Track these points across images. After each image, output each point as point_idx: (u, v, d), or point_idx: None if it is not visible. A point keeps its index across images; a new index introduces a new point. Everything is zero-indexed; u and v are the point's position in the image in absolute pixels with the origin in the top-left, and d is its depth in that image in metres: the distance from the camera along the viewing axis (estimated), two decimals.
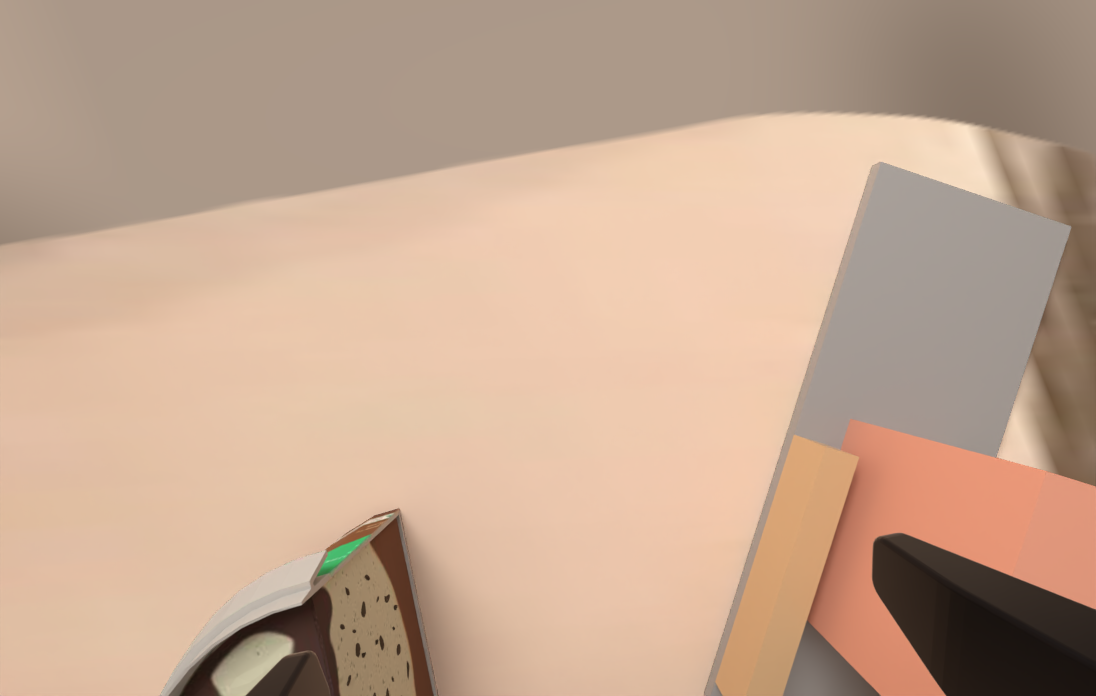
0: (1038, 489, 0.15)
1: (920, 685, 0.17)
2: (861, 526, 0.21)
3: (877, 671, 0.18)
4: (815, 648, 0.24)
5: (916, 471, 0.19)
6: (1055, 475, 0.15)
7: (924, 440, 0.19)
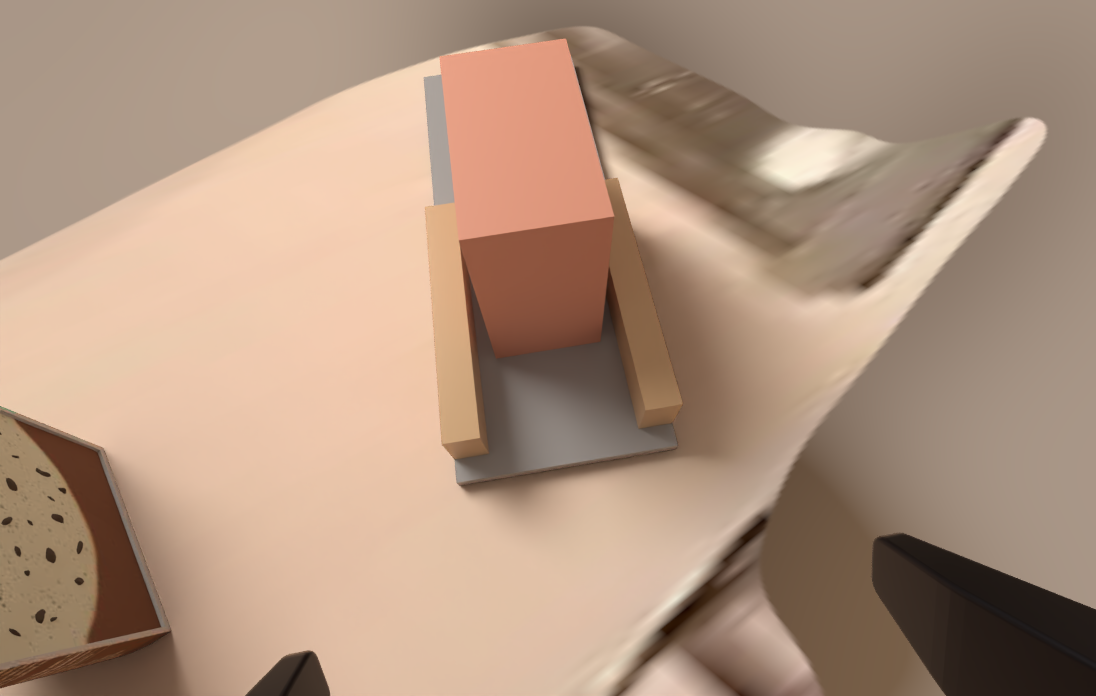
0: None
1: None
2: None
3: None
4: (538, 385, 0.24)
5: None
6: (448, 56, 0.20)
7: None
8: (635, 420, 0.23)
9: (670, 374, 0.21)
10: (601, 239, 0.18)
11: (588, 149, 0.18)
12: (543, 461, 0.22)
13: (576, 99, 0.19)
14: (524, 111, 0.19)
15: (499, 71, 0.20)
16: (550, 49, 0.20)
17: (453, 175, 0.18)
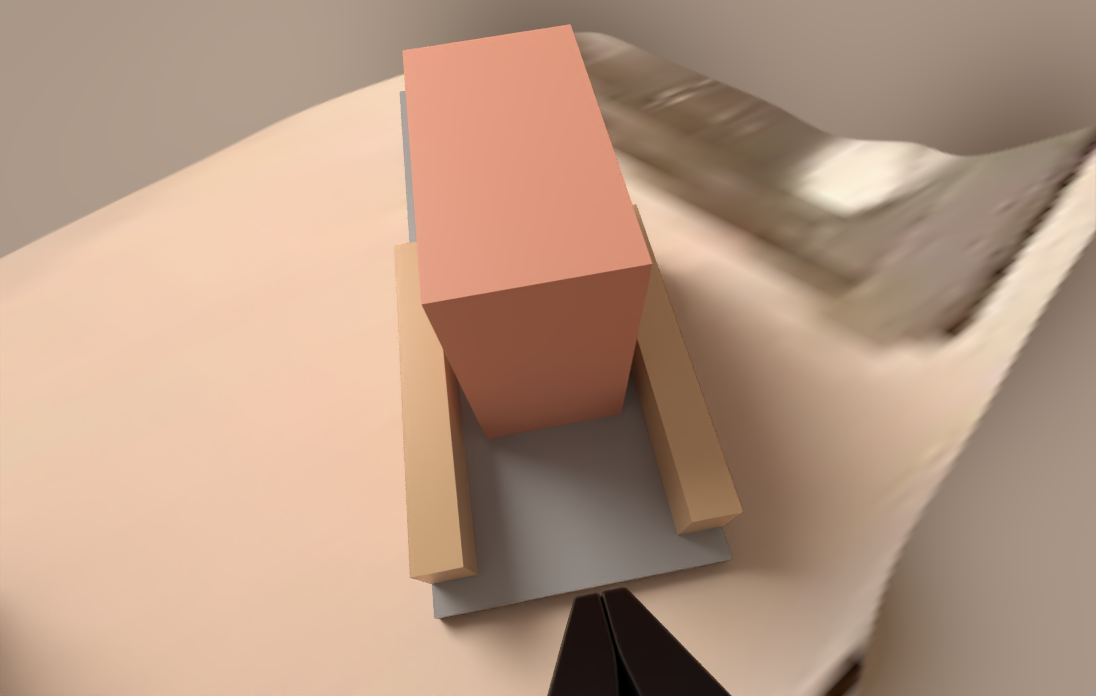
0: None
1: None
2: None
3: None
4: (542, 475, 0.18)
5: None
6: (413, 50, 0.15)
7: None
8: (672, 523, 0.17)
9: (722, 468, 0.15)
10: (630, 294, 0.12)
11: (608, 167, 0.13)
12: (551, 585, 0.17)
13: (588, 100, 0.14)
14: (517, 118, 0.14)
15: (483, 67, 0.15)
16: (550, 38, 0.15)
17: (416, 208, 0.12)
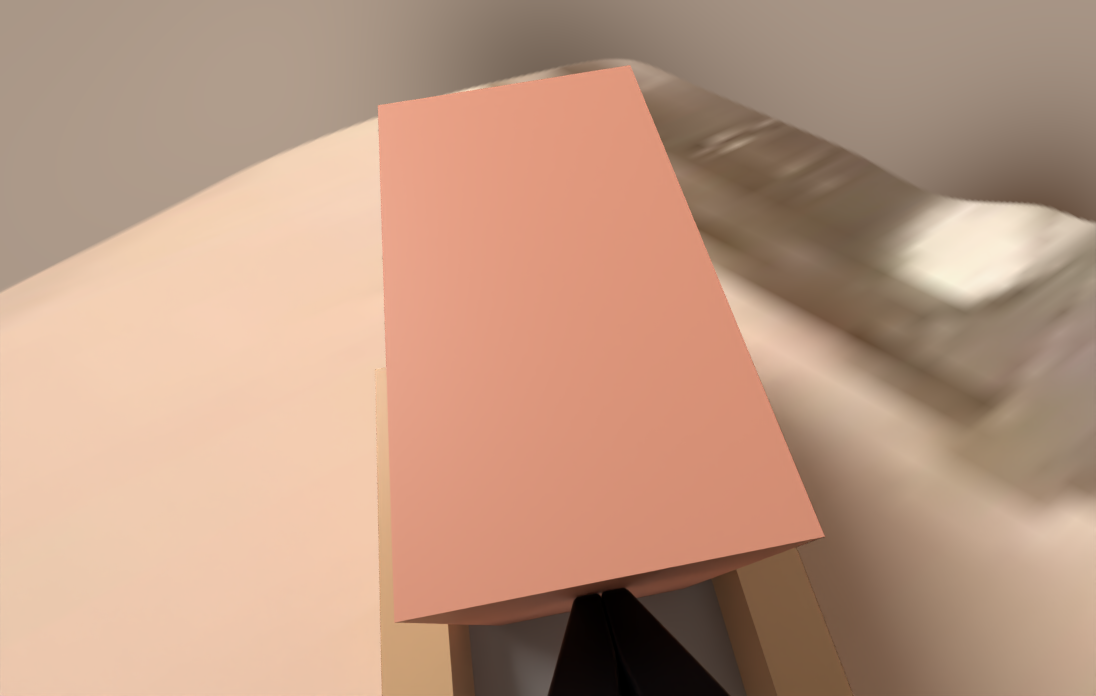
0: (379, 126, 0.10)
1: None
2: None
3: None
4: None
5: None
6: (395, 105, 0.10)
7: None
8: None
9: None
10: (764, 553, 0.07)
11: (717, 321, 0.07)
12: None
13: (670, 194, 0.09)
14: (557, 225, 0.08)
15: (500, 133, 0.10)
16: (601, 88, 0.10)
17: (391, 398, 0.07)
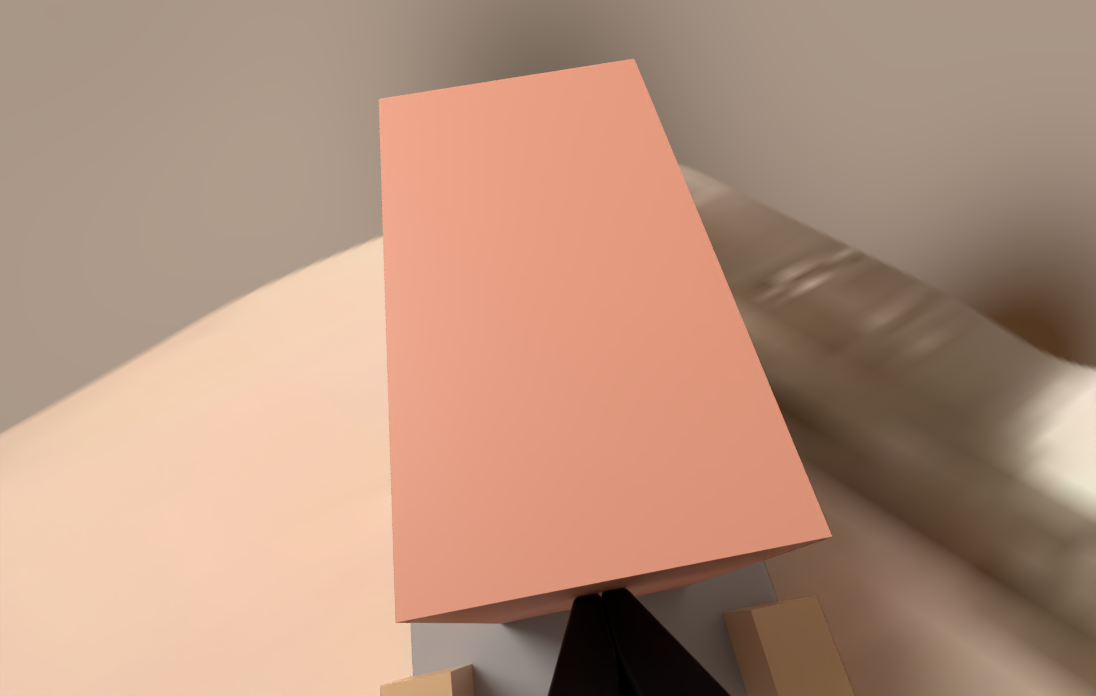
0: (380, 120, 0.10)
1: None
2: None
3: None
4: None
5: None
6: (396, 98, 0.10)
7: None
8: None
9: None
10: (770, 553, 0.07)
11: (722, 318, 0.07)
12: None
13: (674, 189, 0.09)
14: (560, 220, 0.08)
15: (502, 128, 0.09)
16: (604, 81, 0.10)
17: (392, 395, 0.07)
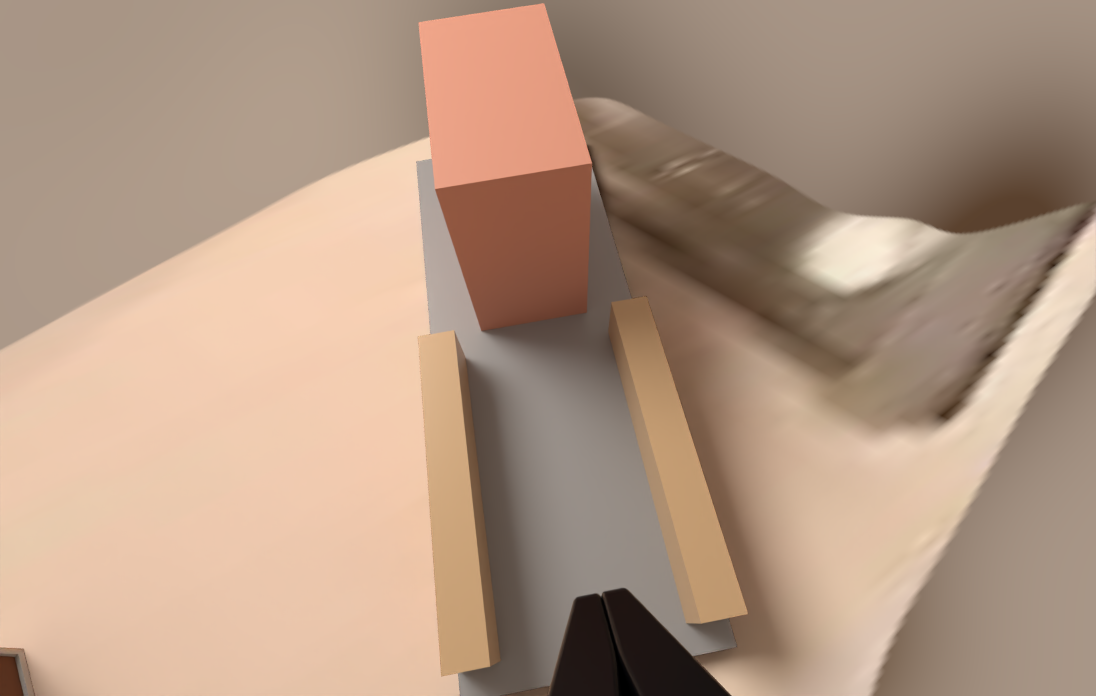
0: (419, 31, 0.20)
1: None
2: None
3: None
4: (559, 561, 0.19)
5: None
6: (427, 22, 0.20)
7: None
8: (681, 611, 0.18)
9: (729, 570, 0.17)
10: (580, 189, 0.17)
11: (566, 102, 0.18)
12: None
13: (554, 57, 0.19)
14: (502, 70, 0.19)
15: (478, 34, 0.20)
16: (528, 13, 0.20)
17: (430, 129, 0.18)
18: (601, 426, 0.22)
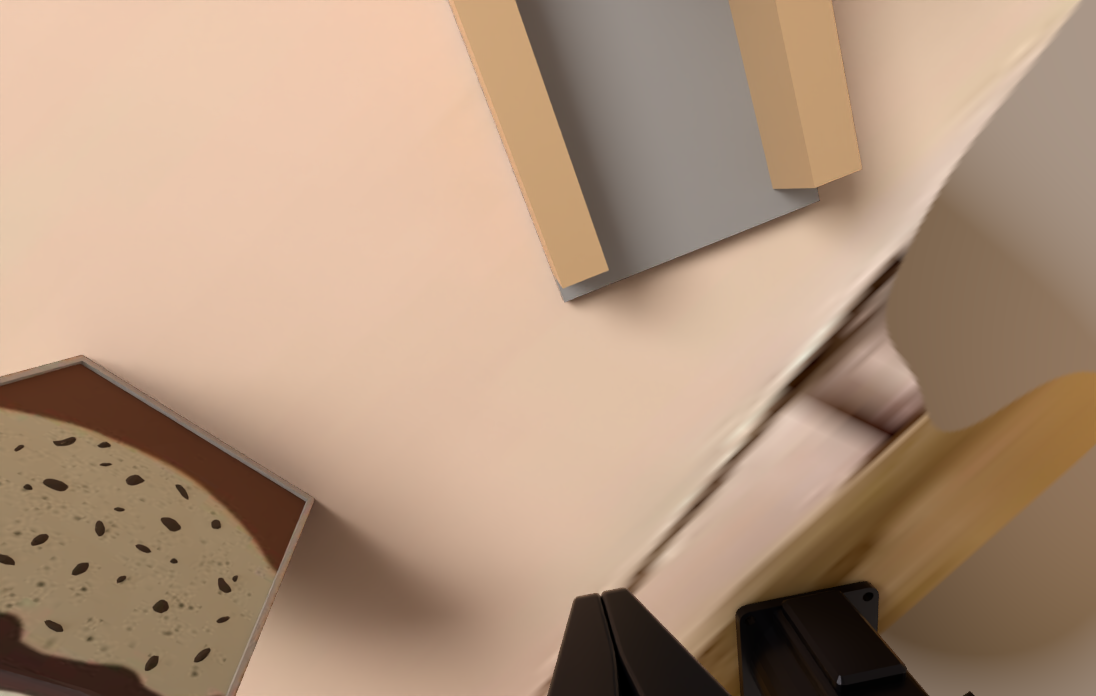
0: None
1: None
2: None
3: None
4: (639, 152, 0.17)
5: None
6: None
7: None
8: (769, 178, 0.18)
9: (849, 126, 0.15)
10: None
11: None
12: (661, 255, 0.18)
13: None
14: None
15: None
16: None
17: None
18: None
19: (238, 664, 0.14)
